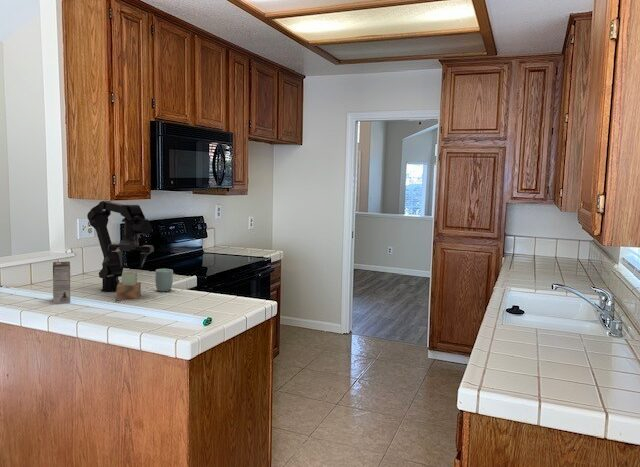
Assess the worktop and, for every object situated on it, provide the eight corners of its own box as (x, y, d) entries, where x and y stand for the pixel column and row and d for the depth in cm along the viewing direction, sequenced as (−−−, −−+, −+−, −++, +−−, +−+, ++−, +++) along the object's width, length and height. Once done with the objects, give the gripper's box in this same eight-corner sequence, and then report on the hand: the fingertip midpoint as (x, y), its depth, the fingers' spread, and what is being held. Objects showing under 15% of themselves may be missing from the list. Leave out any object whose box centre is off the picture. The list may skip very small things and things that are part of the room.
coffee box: (52, 299, 207) (52, 261, 206) (69, 297, 210) (69, 261, 209) (53, 304, 199) (52, 265, 198) (70, 302, 202) (70, 264, 201)
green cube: (122, 285, 213) (122, 274, 213) (125, 283, 218) (125, 272, 218) (133, 285, 214) (133, 274, 213) (137, 283, 219) (137, 272, 218)
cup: (167, 293, 227) (167, 272, 226) (152, 291, 228) (152, 270, 227) (175, 290, 235) (175, 269, 234) (160, 288, 236) (161, 268, 235)
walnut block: (116, 300, 211) (116, 286, 210) (119, 295, 219) (119, 282, 219) (138, 299, 213) (138, 286, 213) (140, 295, 222) (140, 282, 221)
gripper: (102, 233, 209) (102, 269, 211) (145, 235, 209) (144, 271, 211) (113, 230, 221) (113, 264, 222) (154, 233, 220) (153, 267, 222)
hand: (130, 267), depth 219 cm, fingers open, 9 cm apart
